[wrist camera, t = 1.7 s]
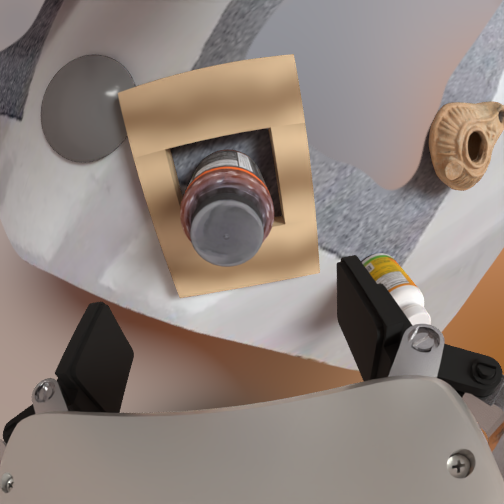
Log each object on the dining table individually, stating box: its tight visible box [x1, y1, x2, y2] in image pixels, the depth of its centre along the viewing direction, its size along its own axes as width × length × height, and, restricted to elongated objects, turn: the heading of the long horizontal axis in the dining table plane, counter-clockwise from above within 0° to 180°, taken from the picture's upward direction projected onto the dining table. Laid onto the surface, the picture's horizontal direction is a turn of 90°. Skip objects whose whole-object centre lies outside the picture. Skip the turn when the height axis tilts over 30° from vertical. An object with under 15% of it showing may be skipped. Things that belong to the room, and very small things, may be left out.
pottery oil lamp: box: [429, 101, 504, 191], centre depth 21 cm, size 9×12×7 cm
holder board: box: [118, 54, 320, 298], centre depth 25 cm, size 20×14×2 cm
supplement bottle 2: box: [362, 253, 431, 325], centre depth 27 cm, size 5×5×10 cm
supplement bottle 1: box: [180, 150, 274, 267], centre depth 21 cm, size 6×6×11 cm
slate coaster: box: [41, 55, 135, 162], centre depth 21 cm, size 10×10×1 cm
